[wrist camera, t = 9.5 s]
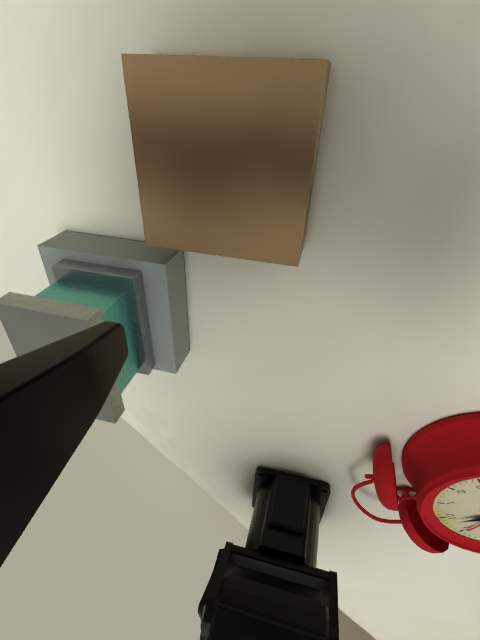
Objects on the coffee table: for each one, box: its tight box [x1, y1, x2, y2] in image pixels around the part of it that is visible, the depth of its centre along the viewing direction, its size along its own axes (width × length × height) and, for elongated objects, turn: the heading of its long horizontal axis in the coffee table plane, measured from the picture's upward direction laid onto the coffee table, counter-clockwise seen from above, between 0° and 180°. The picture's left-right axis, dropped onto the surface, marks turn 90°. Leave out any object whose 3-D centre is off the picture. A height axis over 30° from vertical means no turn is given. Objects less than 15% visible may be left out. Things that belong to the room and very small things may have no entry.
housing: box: [0, 259, 155, 423], centre depth 20 cm, size 5×7×5 cm
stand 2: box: [121, 54, 330, 267], centre depth 16 cm, size 8×8×2 cm
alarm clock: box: [351, 413, 480, 553], centre depth 23 cm, size 10×6×15 cm
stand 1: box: [37, 231, 190, 374], centre depth 23 cm, size 8×8×2 cm
